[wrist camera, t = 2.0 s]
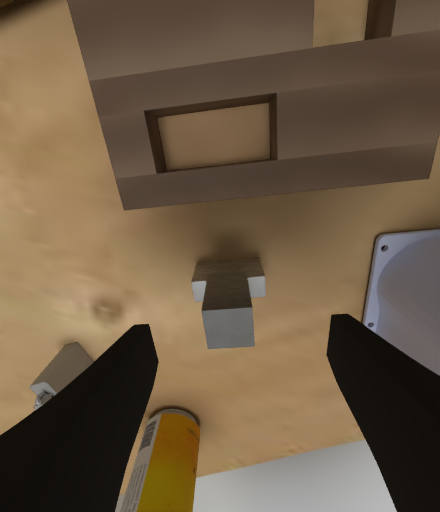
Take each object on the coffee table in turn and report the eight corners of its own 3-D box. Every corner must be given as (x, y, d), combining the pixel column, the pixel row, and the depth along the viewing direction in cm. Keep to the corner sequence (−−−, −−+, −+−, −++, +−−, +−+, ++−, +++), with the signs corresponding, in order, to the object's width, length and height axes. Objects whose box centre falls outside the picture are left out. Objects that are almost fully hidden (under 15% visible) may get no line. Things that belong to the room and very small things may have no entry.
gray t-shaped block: (260, 281, 19) (276, 345, 13) (200, 285, 20) (186, 350, 13) (259, 252, 18) (276, 305, 12) (195, 257, 19) (178, 312, 12)
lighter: (62, 346, 23) (-16, 438, 15) (77, 341, 22) (4, 432, 15) (103, 393, 25) (52, 491, 18) (116, 390, 25) (70, 487, 18)
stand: (399, 175, 16) (428, 178, 13) (138, 202, 17) (124, 210, 15) (449, -96, 11) (507, -162, 9) (81, -29, 12) (48, -71, 10)
